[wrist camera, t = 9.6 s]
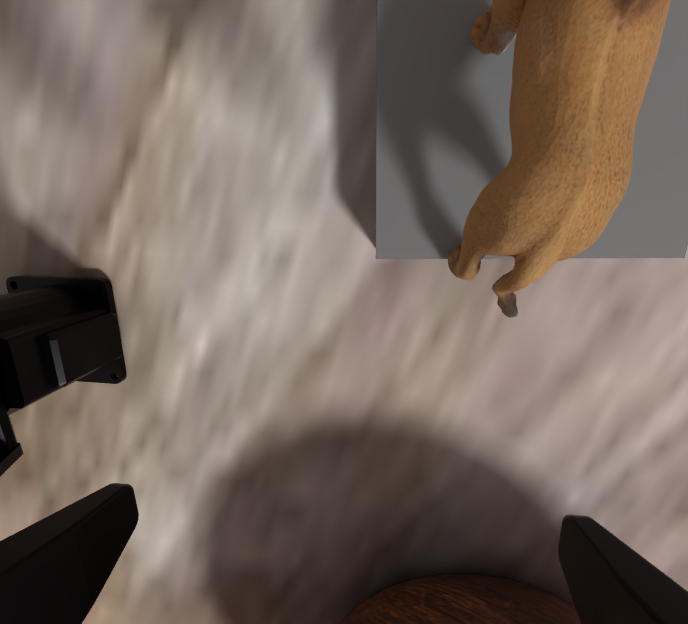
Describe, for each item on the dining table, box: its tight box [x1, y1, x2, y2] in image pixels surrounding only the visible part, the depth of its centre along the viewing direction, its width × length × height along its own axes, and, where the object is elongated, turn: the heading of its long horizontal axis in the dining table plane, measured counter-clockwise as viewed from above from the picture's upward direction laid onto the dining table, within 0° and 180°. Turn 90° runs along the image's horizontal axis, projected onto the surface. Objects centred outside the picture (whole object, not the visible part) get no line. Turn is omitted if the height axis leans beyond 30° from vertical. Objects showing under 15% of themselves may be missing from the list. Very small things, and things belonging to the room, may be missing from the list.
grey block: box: [376, 0, 688, 259], centre depth 15 cm, size 12×14×4 cm
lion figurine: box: [448, 0, 671, 317], centre depth 9 cm, size 15×5×9 cm, turn 7°
